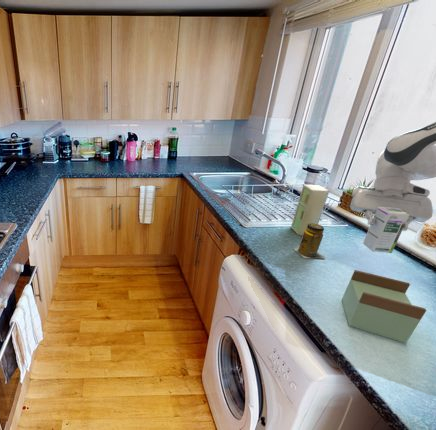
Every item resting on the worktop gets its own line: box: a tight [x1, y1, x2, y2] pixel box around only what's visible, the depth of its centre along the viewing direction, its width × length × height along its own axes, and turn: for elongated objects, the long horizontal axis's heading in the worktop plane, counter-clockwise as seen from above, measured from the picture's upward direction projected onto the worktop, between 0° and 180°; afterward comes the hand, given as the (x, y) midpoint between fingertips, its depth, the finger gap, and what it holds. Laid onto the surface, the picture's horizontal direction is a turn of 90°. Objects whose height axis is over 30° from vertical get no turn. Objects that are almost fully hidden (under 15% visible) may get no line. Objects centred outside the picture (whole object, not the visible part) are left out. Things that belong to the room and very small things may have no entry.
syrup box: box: [362, 207, 410, 254], centre depth 95 cm, size 6×6×14 cm
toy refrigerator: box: [290, 184, 330, 236], centre depth 124 cm, size 8×7×21 cm
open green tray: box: [341, 269, 427, 344], centre depth 78 cm, size 12×12×11 cm
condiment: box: [293, 223, 326, 259], centre depth 109 cm, size 7×8×12 cm
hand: (387, 227), depth 94 cm, fingers closed on syrup box, 7 cm apart
